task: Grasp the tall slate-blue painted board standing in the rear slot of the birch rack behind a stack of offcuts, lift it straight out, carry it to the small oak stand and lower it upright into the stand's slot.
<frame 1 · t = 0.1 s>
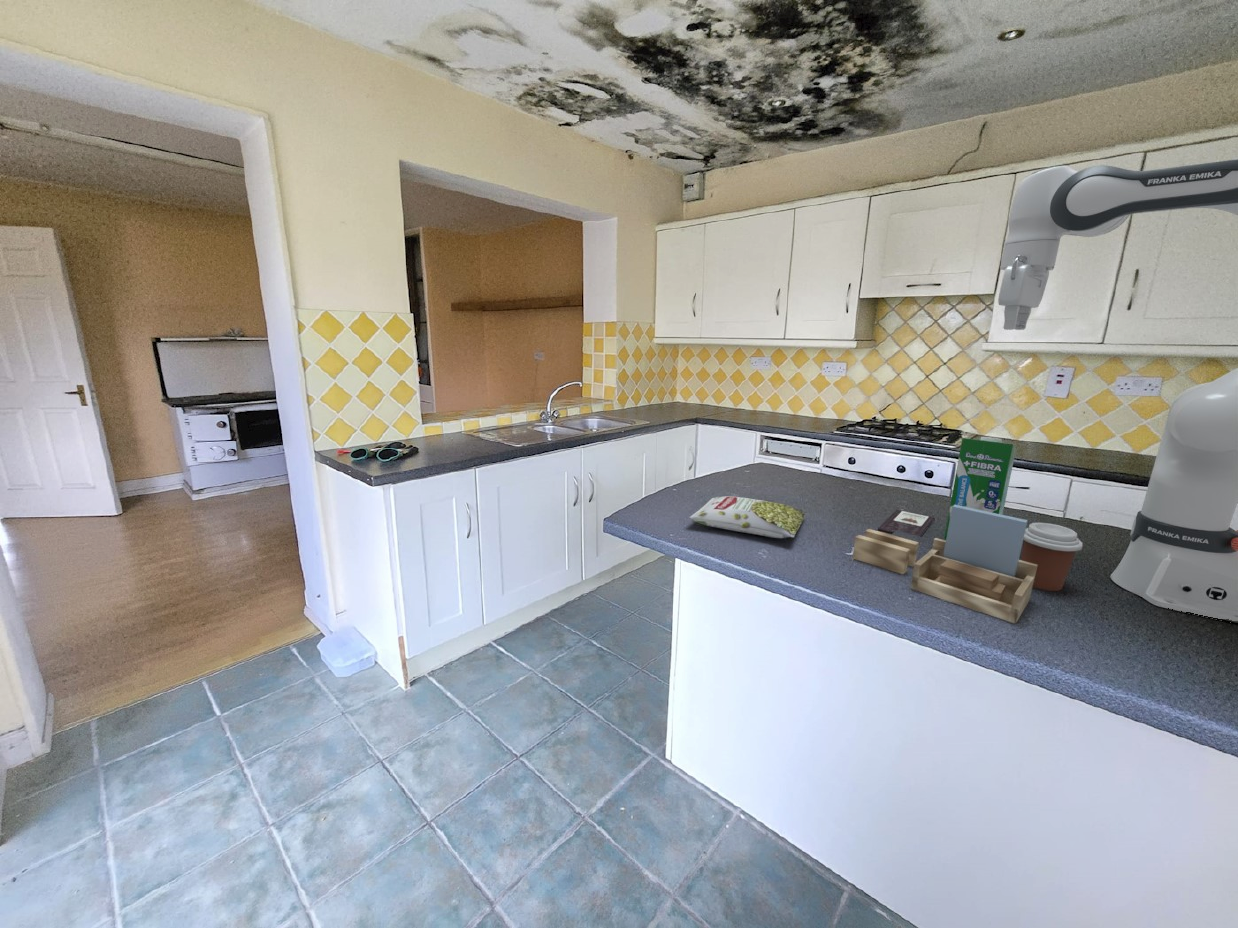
hand: (1014, 329, 106), 48 cm above the countertop, fingers open, 8 cm apart
milk carton: (969, 543, 118), on the countertop
offcut 1: (962, 596, 92), point 1 cm above the countertop, touching offcut 2, rack
chocolate bar: (906, 527, 129), on the countertop
offcut 2: (970, 589, 91), point 3 cm above the countertop, touching offcut 1, offcut 3
coffee cup: (1038, 588, 98), on the countertop
sheet: (973, 588, 95), point 1 cm above the countertop, touching rack
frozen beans: (747, 526, 129), on the countertop
offcut 3: (967, 578, 91), point 5 cm above the countertop, touching offcut 2
rack: (967, 599, 93), on the countertop
stand: (882, 565, 107), on the countertop
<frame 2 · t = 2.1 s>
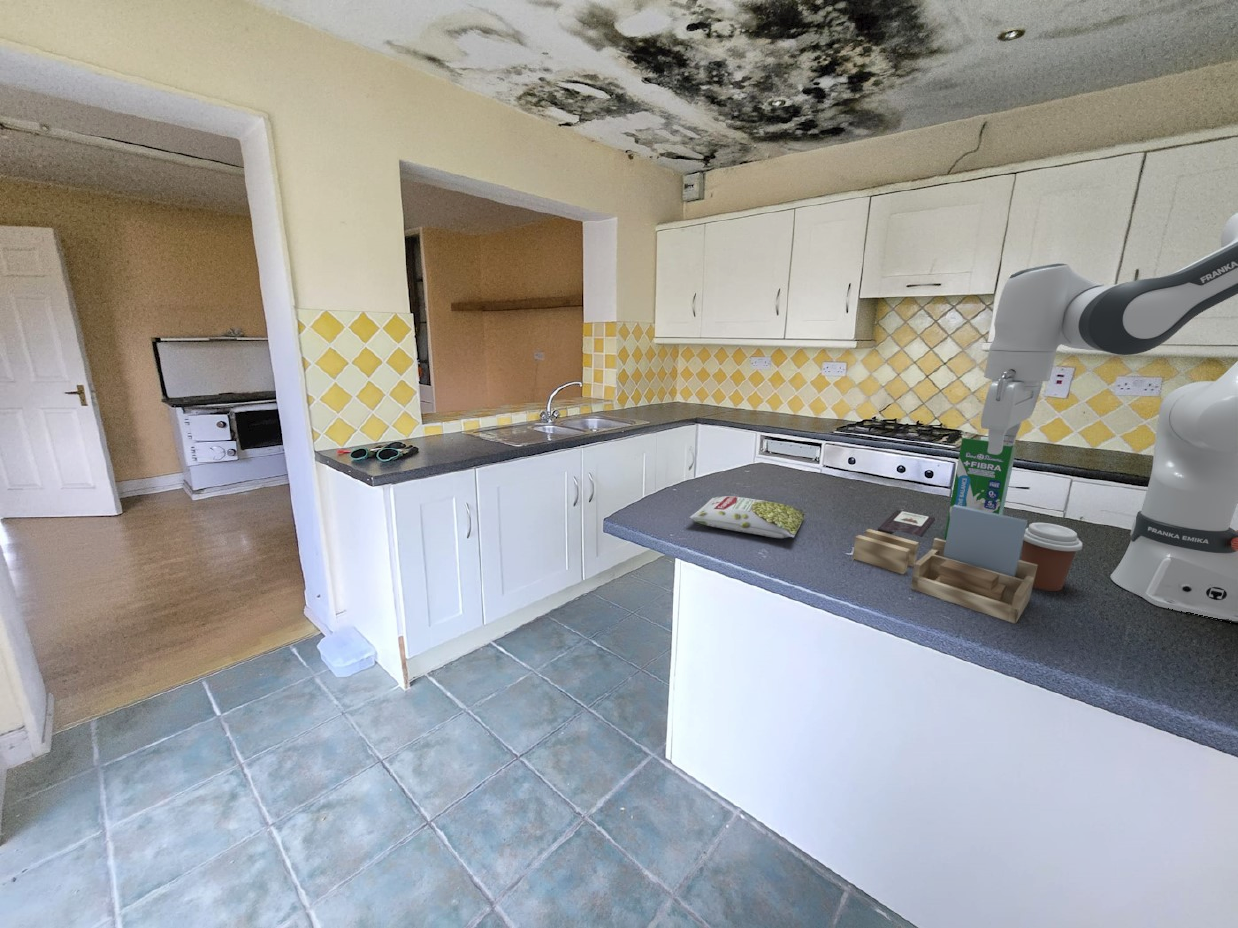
hand: (1001, 449, 88), 28 cm above the countertop, fingers open, 8 cm apart
nothing on the countertop moved.
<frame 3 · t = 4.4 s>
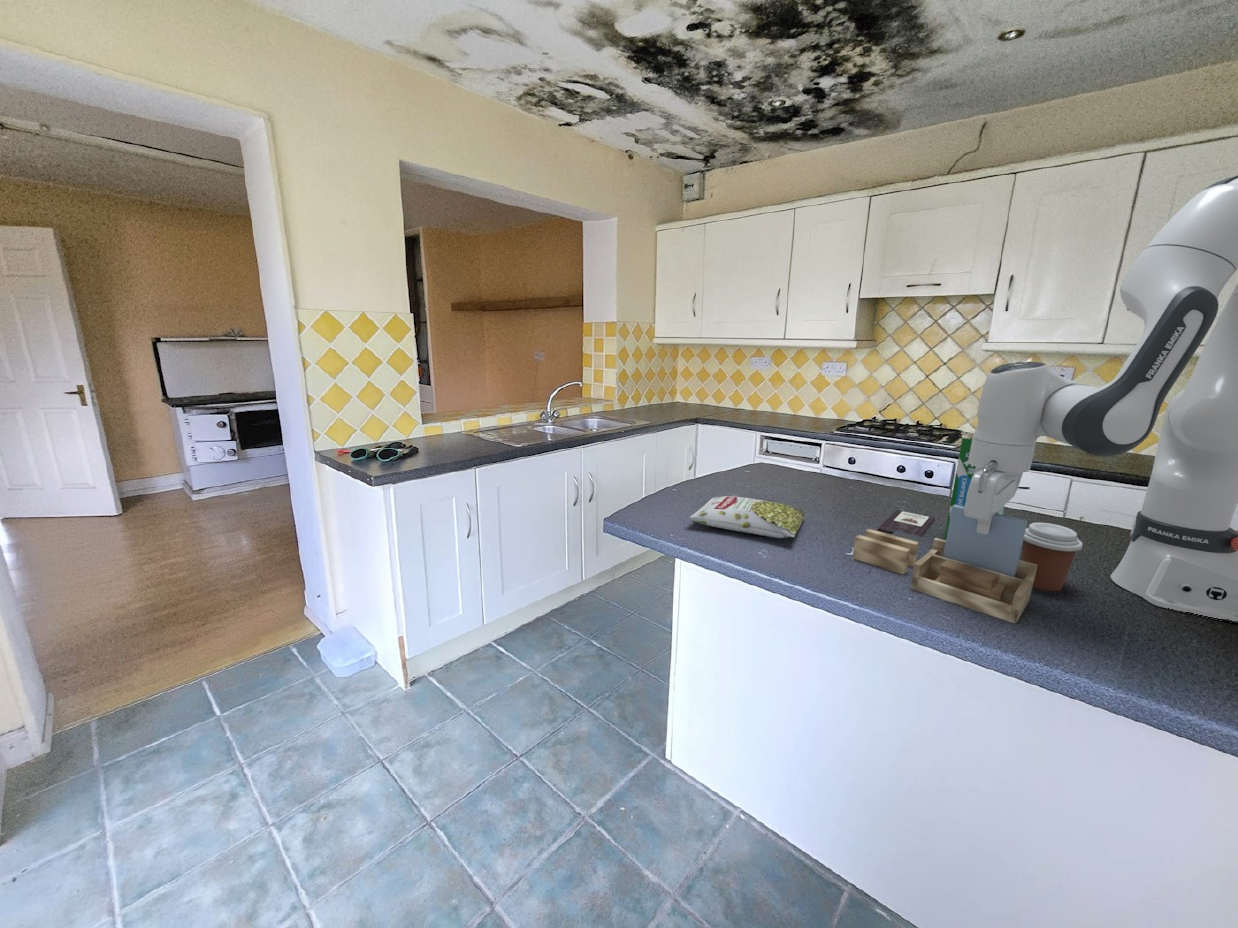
hand: (985, 530, 92), 13 cm above the countertop, fingers closed on sheet, 1 cm apart
sheet: (973, 588, 95), point 1 cm above the countertop, touching gripper, rack
everything else where it was.
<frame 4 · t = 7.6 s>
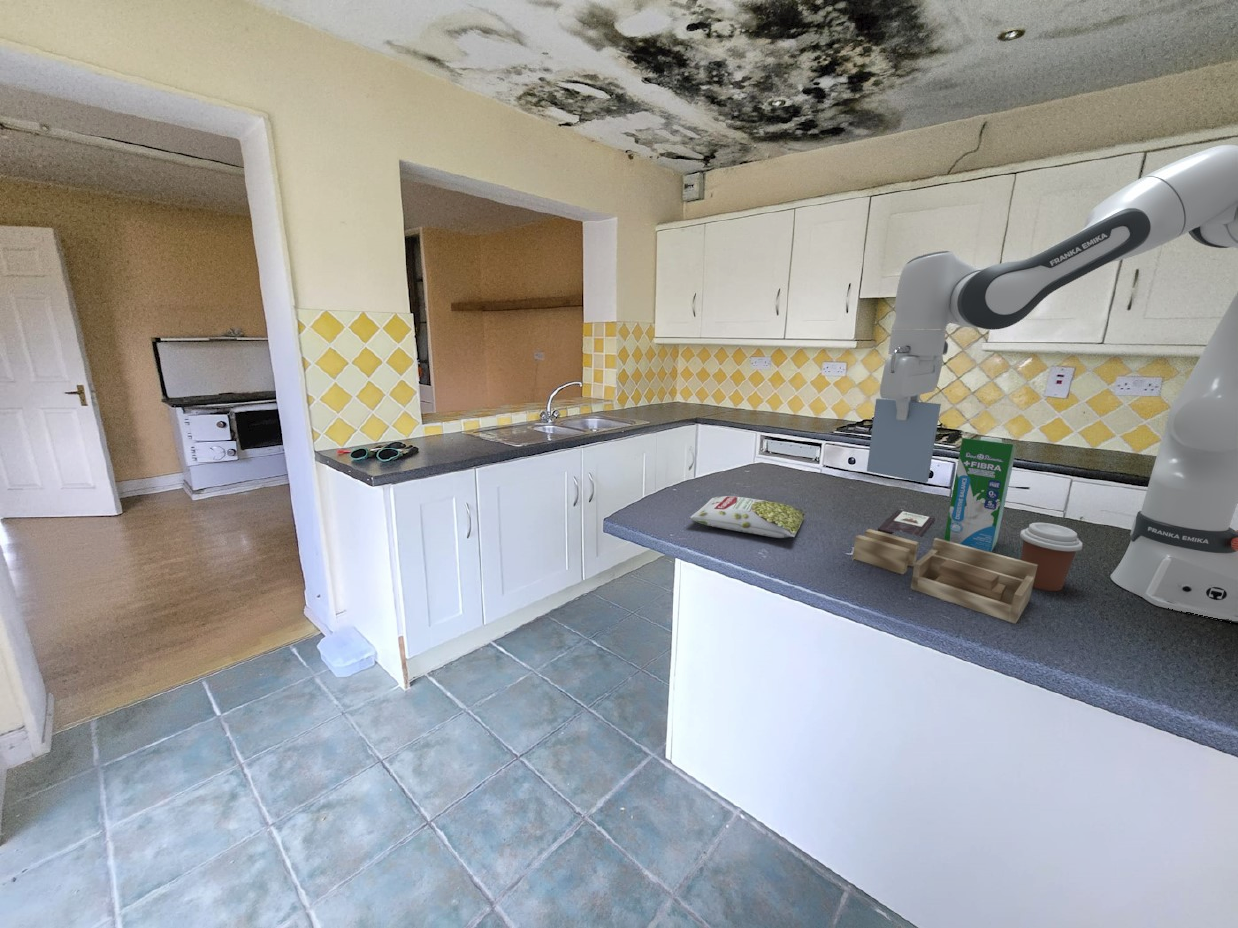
hand: (905, 418, 99), 31 cm above the countertop, fingers closed on sheet
sheet: (896, 476, 102), point 19 cm above the countertop, touching gripper
everything else where it was.
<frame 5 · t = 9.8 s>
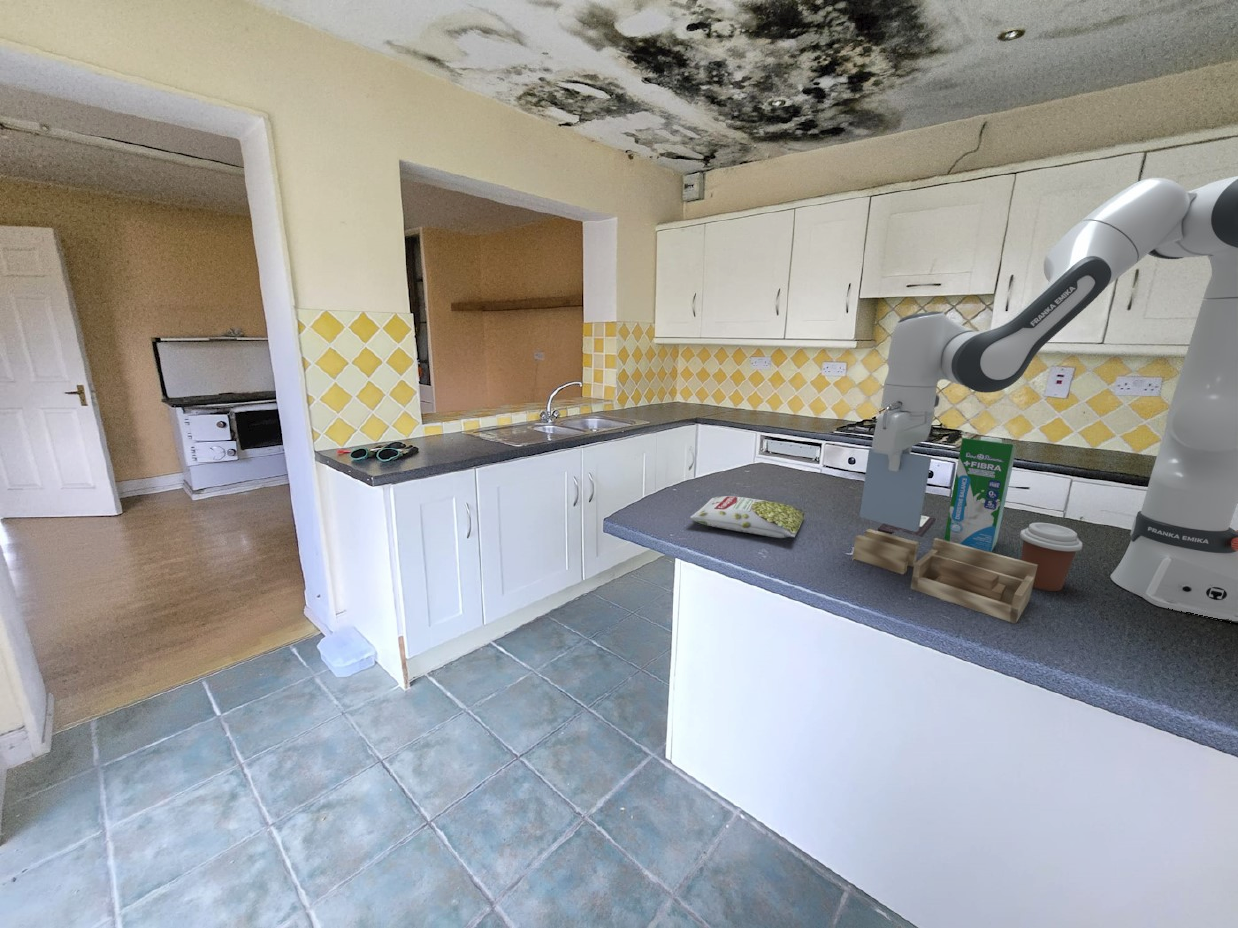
hand: (897, 469, 101), 21 cm above the countertop, fingers closed on sheet
sheet: (888, 523, 104), point 9 cm above the countertop, touching gripper
everything else where it was.
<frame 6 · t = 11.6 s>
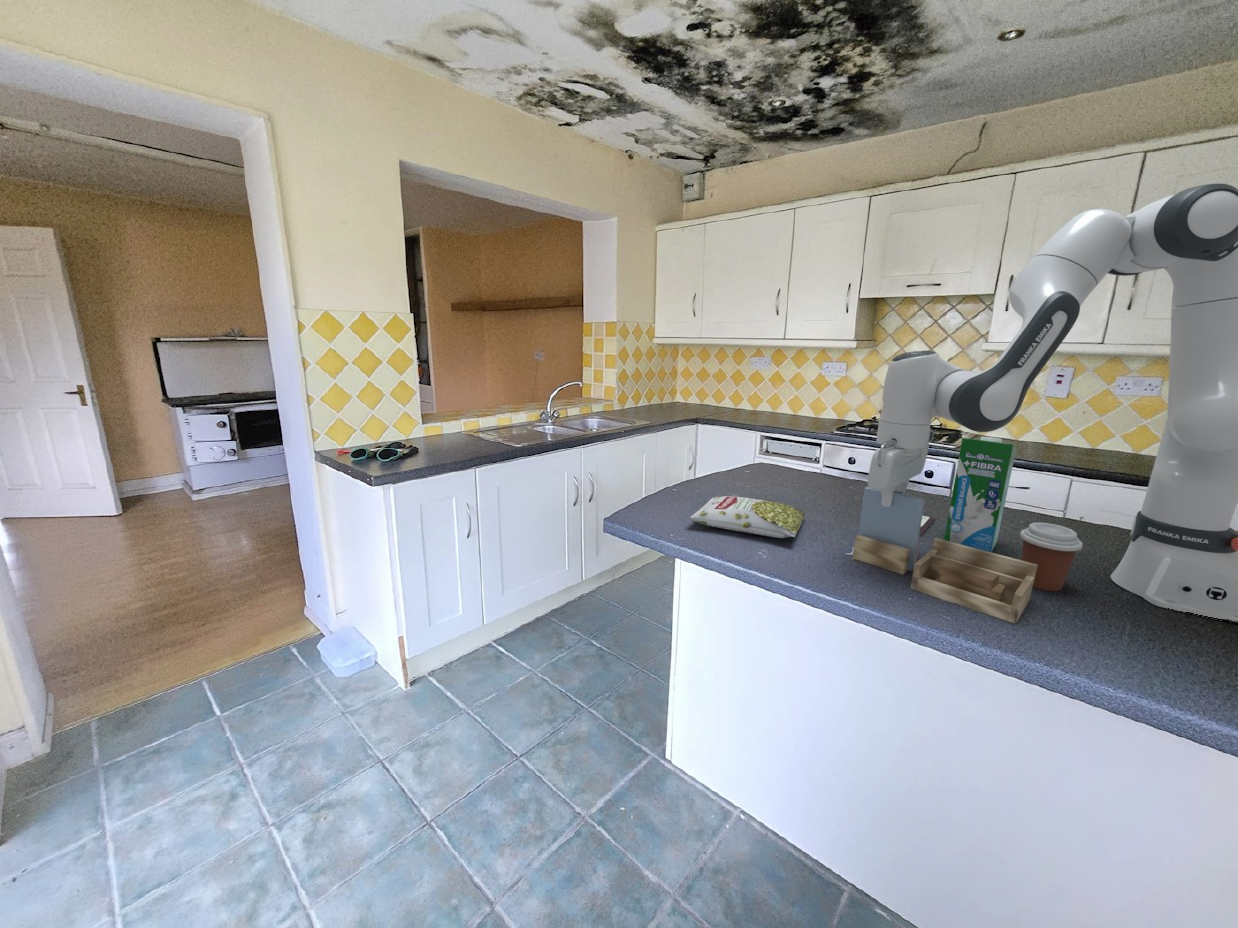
hand: (892, 502, 103), 14 cm above the countertop, fingers open, 4 cm apart
sheet: (883, 561, 107), point 1 cm above the countertop, touching stand
everything else where it was.
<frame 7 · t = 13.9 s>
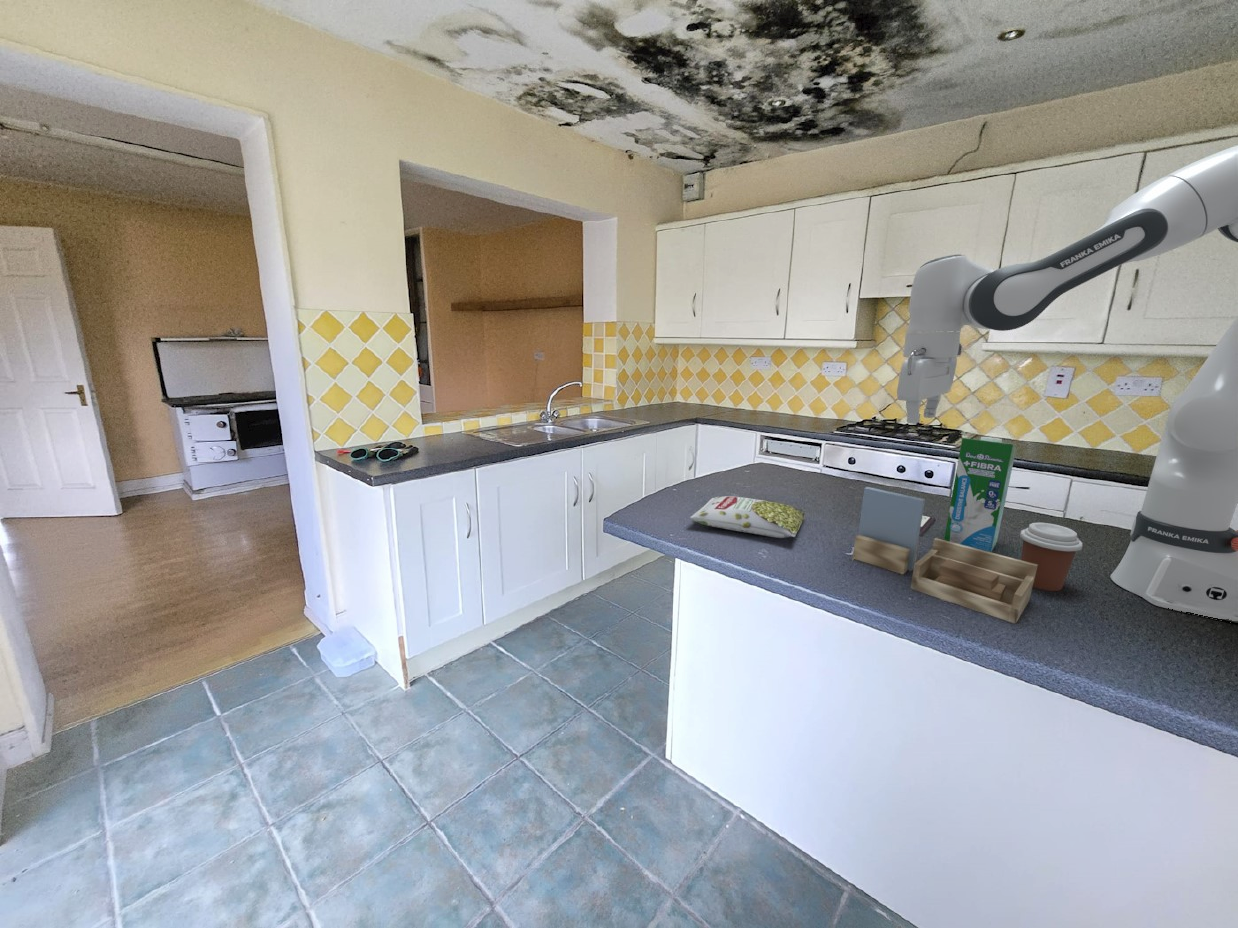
hand: (921, 420, 100), 31 cm above the countertop, fingers open, 8 cm apart
nothing on the countertop moved.
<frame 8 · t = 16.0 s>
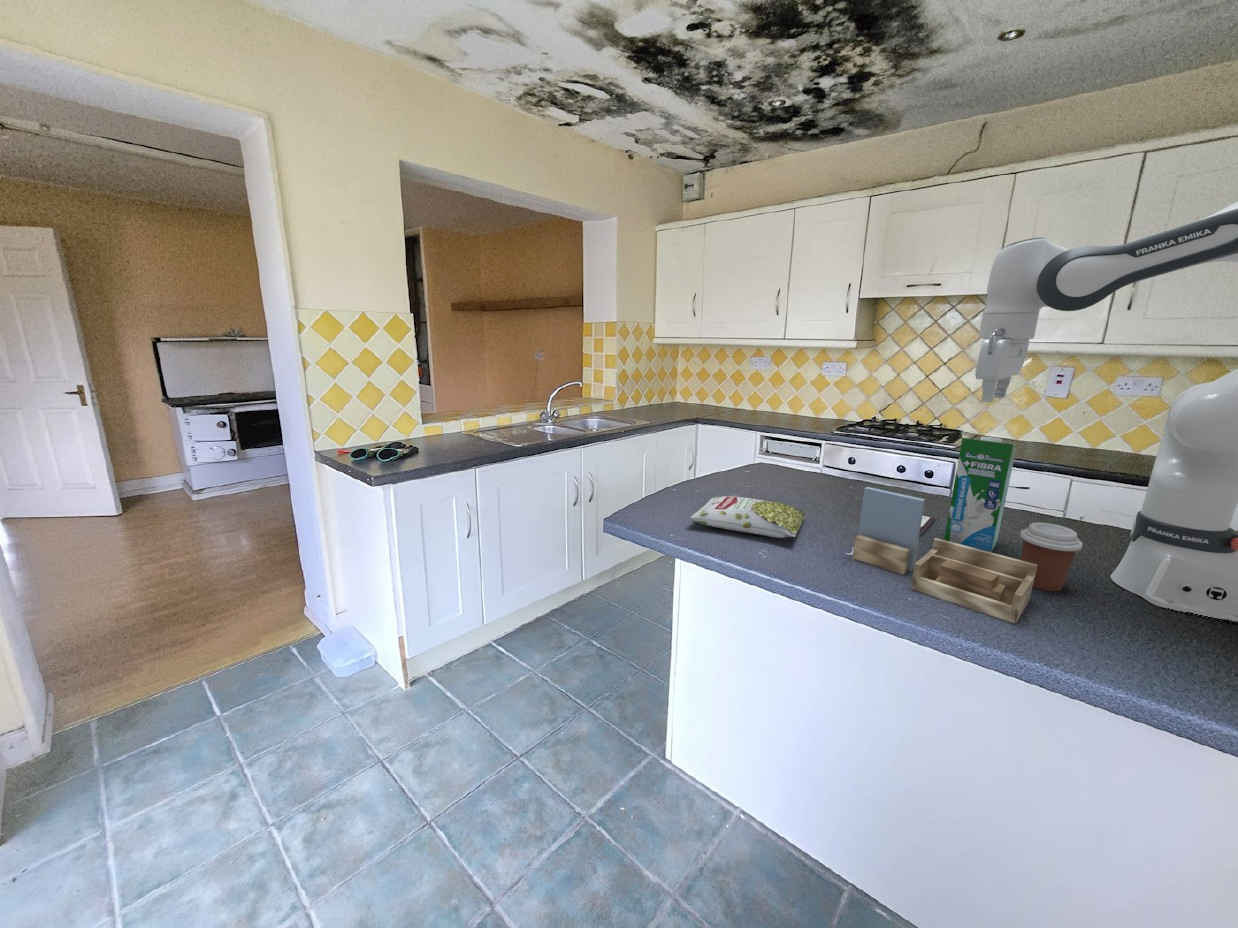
hand: (993, 400, 103), 34 cm above the countertop, fingers open, 8 cm apart
nothing on the countertop moved.
at the end: sheet 0.1 cm off-centre on the stand, point 0.8 cm above the stand's base; sheet tilted 0°; the gripper is holding nothing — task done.
